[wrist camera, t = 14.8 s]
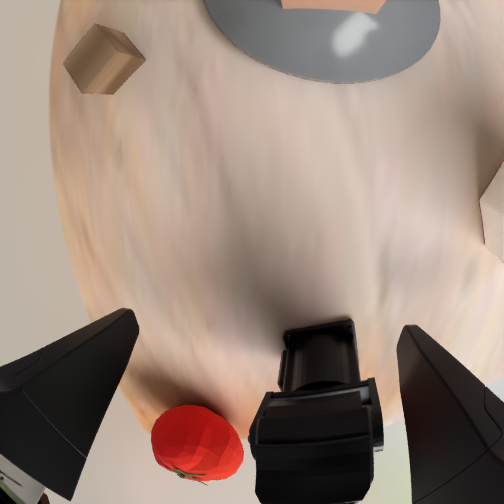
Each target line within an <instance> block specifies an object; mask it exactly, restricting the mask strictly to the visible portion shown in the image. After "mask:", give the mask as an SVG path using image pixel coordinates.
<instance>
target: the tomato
mask: <svg viewBox="0 0 504 504" xmlns="http://www.w3.org/2000/svg"><path fill="white" fill-rule="evenodd" d="M151 443H152V448H153V453H154V456H155V459H156V461H157V462H158V464H159V465H161V466H163V467H164V468H166V469H167V470H169V471H172V472H175V473H178V474H177V475H178V476H180V477H181V478H186V479H189V480H194V481H199V482H201V481H209V480H221V479H226V478H228V477H230V476H231V475H233V474H235V473H236V471H237V470H238V468H239V467H240V465H241V463H242V462H243V455H244V451H243V447H242V444H241V441H240V439H239V436H238V434H237V432H236V431H235V429H234V428H233V427H232V426H231V425H230V424H229V423H228V421H227V420H226V419H224V418H222V417H221V416H219V415H217V414H215V413H214V412H212V411H210V410H209V409H207V408H205V407H202V406H196V405H180V406H177V407H173V408H171V409H169V410H167V411H165V412H164V413H163V414H162V415H161V416H160V417H159V418H158V419H157V420H156V421H155V424H154V426H153V428H152V432H151ZM201 483H203V482H201ZM203 484H204V483H203ZM205 485H206V484H205Z"/></svg>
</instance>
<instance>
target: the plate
mask: <svg viewBox="0 0 504 504" xmlns="http://www.w3.org/2000/svg"><path fill="white" fill-rule="evenodd" d="M204 2H205V5H206V8H207V10H208V12H209V14H210V16H211V18H212V20H213V21H214V23H215V24H216V25H217V27H218V28H219V29H220V30H221V31H222V32H223V34H224V35H225V36H226V37H227V38H228V39H229V40H230V41H231V42H232V43H233V44H234V45H235V46H237V47H238V48H239V49H240V50H242V51H243V52H244V53H246V54H247V55H249V56H250V57H252V58H253V59H255V60H256V61H258V62H260V63H262V64H264V65H266V66H268V67H270V68H272V69H275V70H278V71H280V72H283V73H285V74H288V75H292V76H295V77H299V78H302V79H307V80H312V81H317V82H326V83H335V84H353V83H363V82H370V81H375V80H379V79H383V78H386V77H389V76H391V75H394V74H396V73H398V72H400V71H402V70H404V69H406V68H408V67H410V66H412V65H413V64H414V63H416V62H417V61H418V60H420V59H421V58H422V57H423V56H424V55H425V54H426V53H427V52H428V51H429V49H430V48H431V46H432V45H433V43H434V41H435V39H436V36H437V34H438V31H439V25H440V6H439V1H438V0H386V1H385V3H384V4H383V6H382V7H381V8H380V10H379V11H378V13H377V14H371V13H364V12H355V11H345V10H333V9H305V8H297V9H283V7H282V2H281V0H204Z"/></svg>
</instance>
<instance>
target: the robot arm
mask: <svg viewBox="0 0 504 504" xmlns="http://www.w3.org/2000/svg"><path fill="white" fill-rule="evenodd" d="M347 325H351V326H347ZM138 335H139V325H138V322H137V320H136V317H135V314H134V312H133V310H131V309H127V308H121V309H119V310H117V311H115V312H113V313H111V314H109V315H107V316H105V317H103V318H101V319H99V320H97V321H95V322H93V323H91V324H89V325H87V326H85V327H83V328H81V329H79V330H77V331H75V332H73V333H71V334H69V335H67V336H65V337H63V338H61V339H59V340H57V341H55V342H53V343H51V344H49V345H47V346H45V348H44V347H43V348H41V349H39V350H37V351H35V352H33V353H31V354H29V355H27V356H24V357H22V358H20V359H18V360H15V361H13V362H11V363H8V364H6V365H3V366H1V367H0V504H50V503H49V500H48V496H47V495H46V494H45V493H44V490H45V488H46V487H47V488H48V489H50V490H51V491H53V492H55V493H57V494H58V495H60V496H61V497H63V498H65V499H67V500H69V501H71V499H72V497H73V494H74V491H75V489H76V486H77V483H78V480H79V478H80V475H81V472H82V470H83V467H84V464H85V462H86V458H87V456H88V454H89V451H90V449H91V446H92V444H93V441H94V439H95V436H96V434H97V432H98V429H99V427H100V425H101V422H102V420H103V418H104V415H105V413H106V411H107V408H108V406H109V404H110V402H111V400H112V397H113V395H114V393H115V391H116V389H117V386H118V384H119V382H120V380H121V378H122V376H123V374H124V372H125V369H126V367H127V365H128V362H129V359H130V356H131V354H132V351H133V348H134V345H135V343H136V340H137V337H138ZM288 335H289V336H290V337H288ZM283 340H284V343H285V346H286V349H287V350H283V352H282V355H281V362H280V370H279V377H278V385H279V388H280V390H281V392H273V391H272V392H266V394H265V396H264V398H263V400H262V402H261V405H260V407H259V409H258V411H257V414H256V416H255V418H254V420H253V423H252V425H251V427H250V429H249V434H250V435H249V436H248V442H249V443H250V447H251V453H252V456H253V458H254V459H255V460H256V485H255V493H256V495H257V497H258V499H259V501H260V503H261V504H357V503H358V502H359V501H361V500H363V498H364V497H365V495H366V493H367V492H368V490H369V488H370V484H371V483H372V481H373V478H374V458H373V452H378V451H383V445H384V433H383V419H382V412H381V406H380V401H379V396H378V392H377V387H376V383H375V378H374V377H373V378H368V380H364V381H361V379H360V371H359V361H358V351H357V342H356V333H355V326H354V322H353V321H352V320H345V321H340V322H335V323H330V324H324V325H319V326H313V327H307V328H301V329H294V330H288V331H285V332H284V333H283ZM397 359H398V369H399V382H400V393H401V399H402V405H403V411H404V418H405V425H406V432H407V440H408V449H409V459H410V472H411V488H412V503H413V504H504V402H503V401H501V400H500V399H499V398H498V397H497V396H496V395H495V394H494V393H493V392H492V391H491V390H490V389H488V387H485V385H484V384H483V383H482V382H481V381H480V380H479V379H478V378H477V377H476V376H475V375H473V374H472V373H471V372H470V371H469V370H468V369H467V368H466V367H465V366H464V365H462V364H461V363H460V362H459V361H458V360H457V359H456V358H455V357H453V356H452V355H451V354H450V353H449V352H448V351H447V350H446V349H444V348H443V347H442V346H441V345H440V344H439V343H437V342H436V341H435V340H434V339H433V338H432V337H430V336H429V335H428V334H427V333H426V332H425V331H423V330H422V329H421V328H420V327H419V326H417V325H405V326H404V327H403V329H402V332H401V335H400V338H399V341H398V344H397Z"/></svg>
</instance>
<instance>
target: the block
mask: <svg viewBox="0 0 504 504" xmlns="http://www.w3.org/2000/svg"><path fill="white" fill-rule="evenodd" d="M145 61H146V59H145V58H144V57H143V55H142V54H141V53H140V52H139V51H138V49H137V48H136V47H135V46H134V45H133V43H132V42H131V41H130V40H129V39H128V37H127V36H126V35H125V34H124V33H122V32H119V31H116V30H113V29H110V28H107V27H104V26H101V25H98V24H94V25H93V26H92V28H91V29H90V30H89V31H88V32H87V33H86V35H85V36H84V37H83V38H82V39H81V41H80V42H79V43H78V44H77V46H76V47H75V48H74V49H73V51H72V52H71V53H70V55H69V56H68V57H67V59H66V60H65V61H64V63H63V65H64V66H65V68H66V69H67V71H68V72H69V74H70V76H71V77H72V79H73V80H74V82H75V83H76V85H77V87H78V88H79V90H80V91H81V93H82V94H114V93H115V92H116V91H117V90H118V89H119V88H120V86H121V85H122V84H123V83H124V82H125V81H126V80H127V79H128V78H129V77H130V76H131V75H132V74H133V73H134V72H135V71H136V70H137V69H138V68H139V67H140V66H141V65H142V64H143V63H144V62H145Z"/></svg>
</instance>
